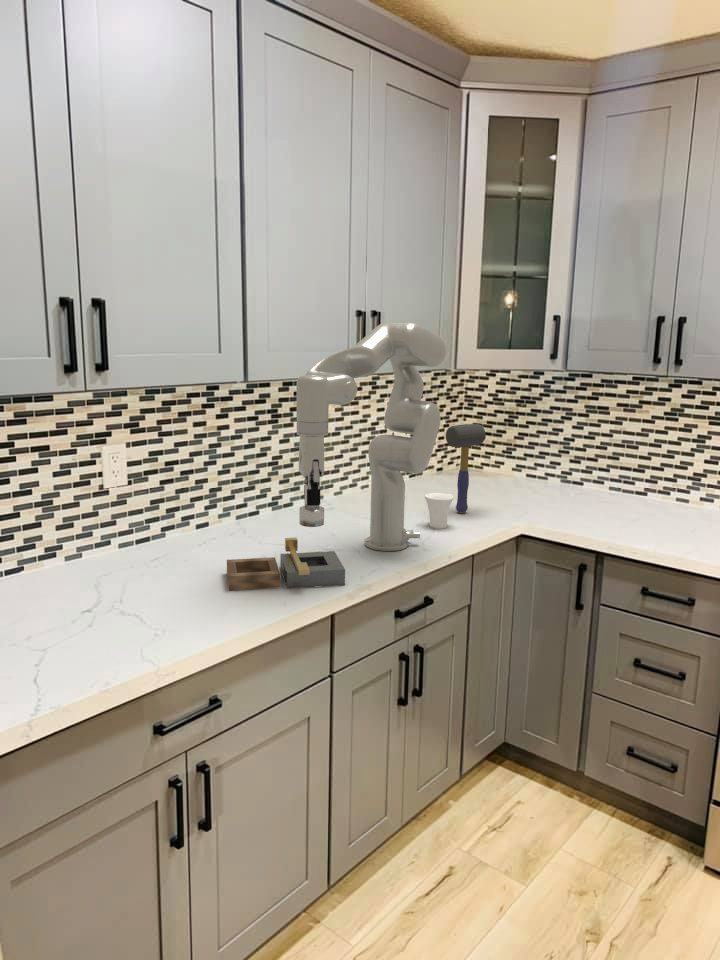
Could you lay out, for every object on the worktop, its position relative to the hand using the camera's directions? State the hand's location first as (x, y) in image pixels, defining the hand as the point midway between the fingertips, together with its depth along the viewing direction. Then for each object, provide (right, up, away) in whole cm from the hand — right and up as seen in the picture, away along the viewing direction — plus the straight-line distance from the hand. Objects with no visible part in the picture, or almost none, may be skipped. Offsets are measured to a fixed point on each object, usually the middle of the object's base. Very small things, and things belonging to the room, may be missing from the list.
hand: (312, 502), depth 173 cm
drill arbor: (0, -5, +1) cm, 5 cm away
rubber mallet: (+46, -6, +66) cm, 81 cm away
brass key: (-4, -15, +2) cm, 15 cm away
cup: (+36, -9, +50) cm, 63 cm away
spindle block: (0, -19, +4) cm, 19 cm away
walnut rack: (-15, -19, +1) cm, 24 cm away
